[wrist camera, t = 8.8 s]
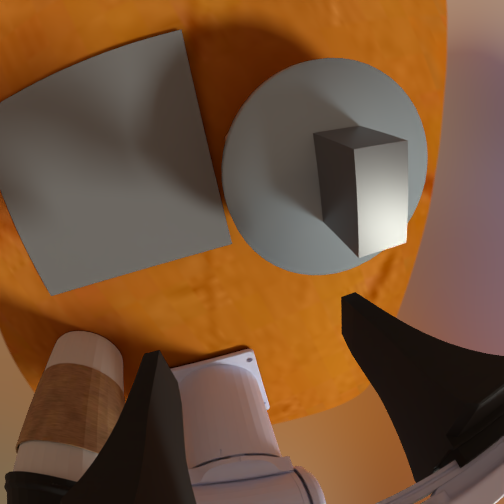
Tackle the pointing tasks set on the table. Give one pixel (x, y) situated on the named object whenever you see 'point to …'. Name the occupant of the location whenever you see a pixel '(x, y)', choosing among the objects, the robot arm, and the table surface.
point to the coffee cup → (67, 418)
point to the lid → (324, 166)
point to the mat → (110, 166)
